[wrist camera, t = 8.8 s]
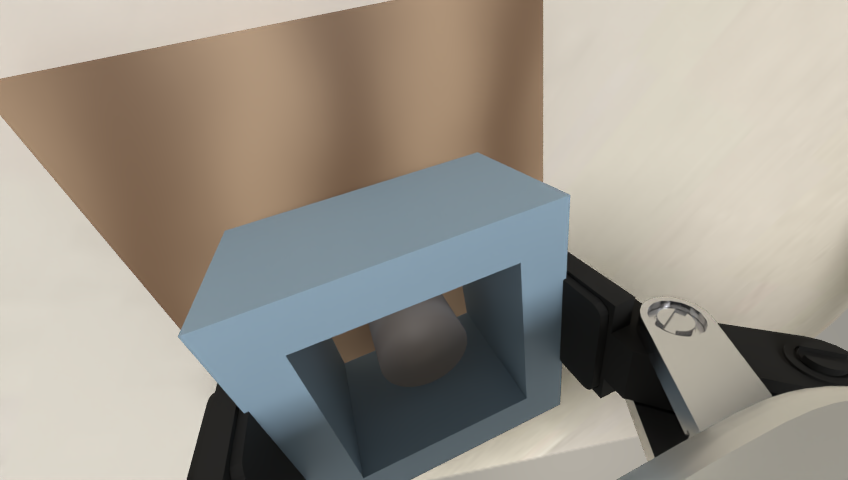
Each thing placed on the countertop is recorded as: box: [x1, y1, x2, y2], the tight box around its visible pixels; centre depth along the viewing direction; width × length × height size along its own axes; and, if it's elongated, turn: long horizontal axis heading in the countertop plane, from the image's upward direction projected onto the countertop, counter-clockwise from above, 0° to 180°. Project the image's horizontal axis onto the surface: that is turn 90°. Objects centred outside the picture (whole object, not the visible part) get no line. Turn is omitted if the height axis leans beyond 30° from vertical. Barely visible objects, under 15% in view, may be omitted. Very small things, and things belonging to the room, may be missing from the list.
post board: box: [0, 0, 543, 387], centre depth 12 cm, size 16×16×8 cm
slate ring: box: [178, 152, 570, 480], centre depth 9 cm, size 7×7×4 cm
